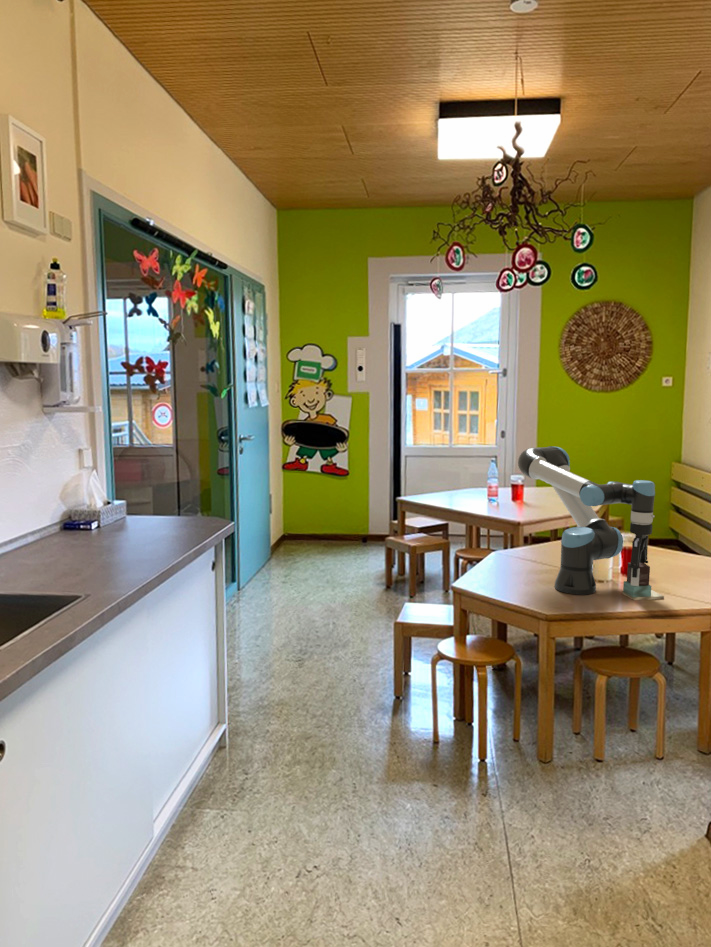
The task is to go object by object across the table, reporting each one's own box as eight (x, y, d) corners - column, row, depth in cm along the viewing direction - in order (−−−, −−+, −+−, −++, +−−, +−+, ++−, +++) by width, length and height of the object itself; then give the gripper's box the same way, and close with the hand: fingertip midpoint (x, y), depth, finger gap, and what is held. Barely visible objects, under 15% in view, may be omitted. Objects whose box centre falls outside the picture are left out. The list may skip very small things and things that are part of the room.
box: (642, 581, 267) (643, 562, 266) (649, 585, 261) (650, 566, 260) (626, 581, 267) (627, 562, 266) (632, 585, 261) (634, 566, 260)
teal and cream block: (633, 600, 260) (634, 587, 260) (622, 593, 268) (622, 580, 267) (663, 598, 262) (664, 585, 262) (651, 592, 270) (652, 579, 269)
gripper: (645, 528, 250) (641, 591, 253) (658, 519, 267) (654, 578, 270) (623, 526, 255) (619, 587, 258) (637, 517, 272) (634, 574, 275)
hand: (637, 582), depth 264 cm, fingers closed on box, 8 cm apart
